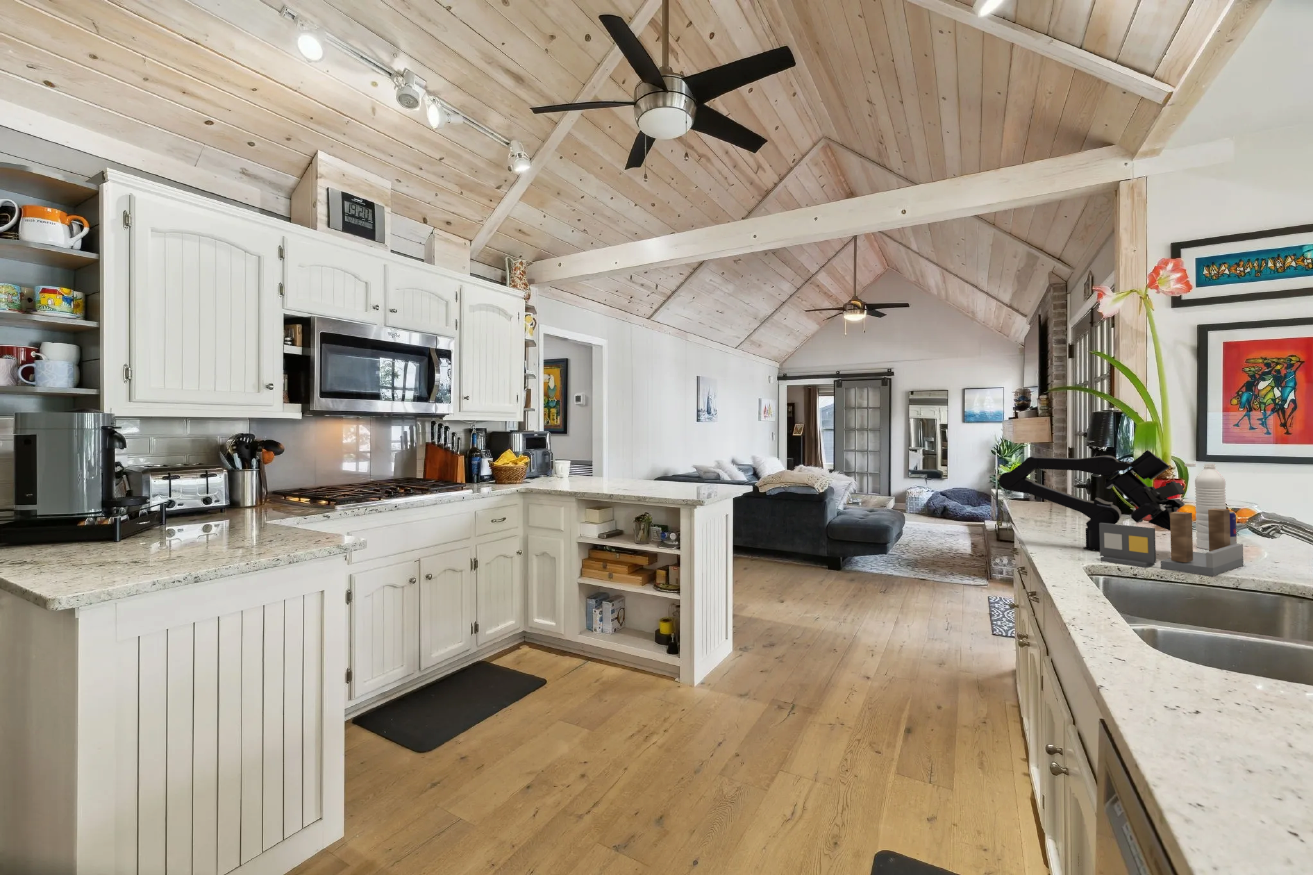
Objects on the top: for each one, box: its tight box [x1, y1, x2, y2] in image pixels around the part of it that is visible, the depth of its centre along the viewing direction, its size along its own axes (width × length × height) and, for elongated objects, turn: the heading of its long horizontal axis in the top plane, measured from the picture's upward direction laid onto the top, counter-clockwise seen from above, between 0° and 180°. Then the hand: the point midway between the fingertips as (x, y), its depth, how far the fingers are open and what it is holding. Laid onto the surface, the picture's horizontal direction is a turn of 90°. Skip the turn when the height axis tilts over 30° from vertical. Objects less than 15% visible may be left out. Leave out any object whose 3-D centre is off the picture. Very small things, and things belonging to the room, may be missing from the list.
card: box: [1099, 523, 1157, 569], centre depth 154 cm, size 12×5×10 cm, turn 30°
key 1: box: [1169, 511, 1194, 563], centre depth 146 cm, size 3×4×12 cm
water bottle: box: [1184, 462, 1227, 551], centre depth 170 cm, size 9×6×25 cm
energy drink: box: [1230, 511, 1238, 545], centre depth 161 cm, size 5×5×12 cm
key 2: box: [1208, 508, 1230, 552], centre depth 150 cm, size 3×4×12 cm
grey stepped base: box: [1160, 543, 1244, 577], centre depth 148 cm, size 10×20×6 cm, turn 120°
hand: (1185, 534), depth 156 cm, fingers closed
